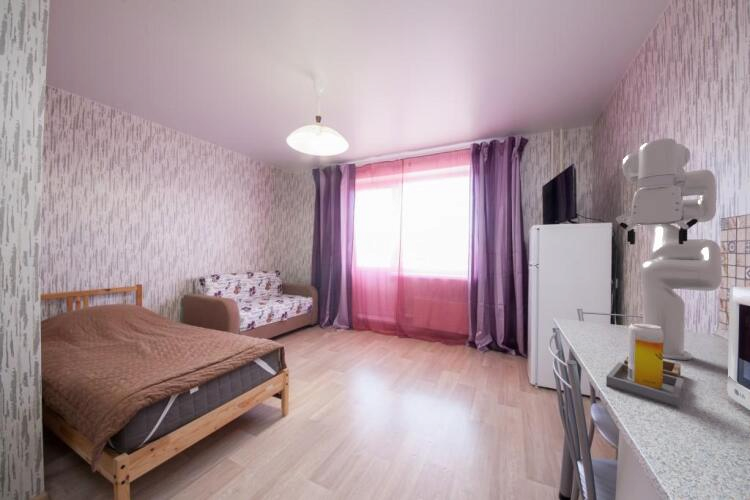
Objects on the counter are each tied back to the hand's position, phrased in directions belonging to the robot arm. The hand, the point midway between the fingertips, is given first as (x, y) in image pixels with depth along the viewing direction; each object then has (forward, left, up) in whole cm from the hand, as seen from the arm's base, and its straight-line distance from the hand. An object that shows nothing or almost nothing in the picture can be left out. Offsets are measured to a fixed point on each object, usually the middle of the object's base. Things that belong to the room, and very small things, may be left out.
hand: (655, 244), depth 76 cm
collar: (+3, 0, -36) cm, 36 cm away
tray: (+16, 0, -36) cm, 40 cm away
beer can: (+16, 0, -36) cm, 39 cm away
